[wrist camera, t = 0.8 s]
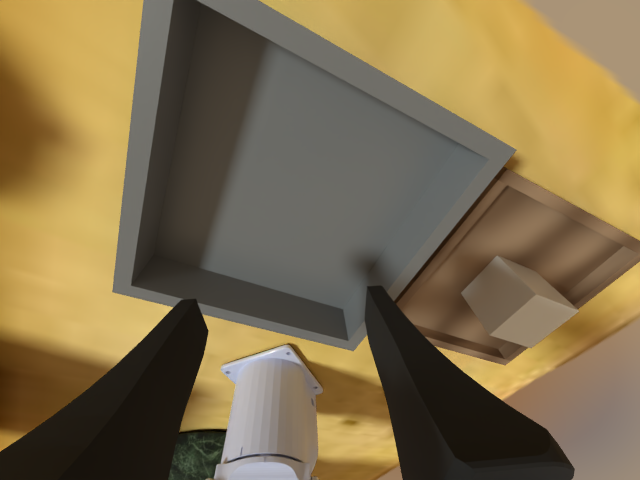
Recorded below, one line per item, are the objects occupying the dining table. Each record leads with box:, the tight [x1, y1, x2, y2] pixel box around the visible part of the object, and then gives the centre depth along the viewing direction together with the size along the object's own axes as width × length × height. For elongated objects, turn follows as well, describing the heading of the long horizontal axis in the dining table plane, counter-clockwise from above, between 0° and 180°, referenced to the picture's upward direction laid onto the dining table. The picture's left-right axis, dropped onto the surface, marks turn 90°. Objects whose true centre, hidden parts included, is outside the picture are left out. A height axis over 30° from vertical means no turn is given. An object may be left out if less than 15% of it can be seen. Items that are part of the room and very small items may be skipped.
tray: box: [394, 167, 640, 365], centre depth 24 cm, size 16×16×2 cm
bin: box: [112, 0, 516, 351], centre depth 18 cm, size 18×18×4 cm
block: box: [461, 255, 579, 348], centre depth 23 cm, size 4×4×4 cm
